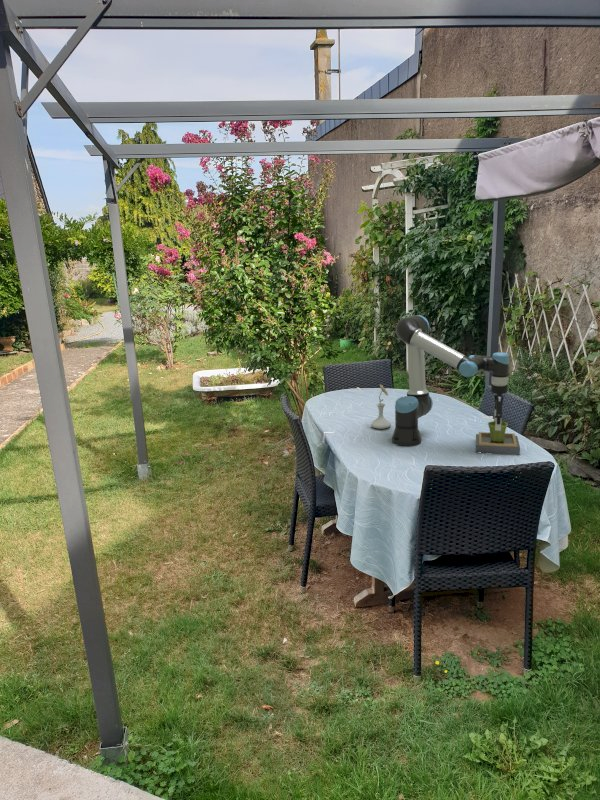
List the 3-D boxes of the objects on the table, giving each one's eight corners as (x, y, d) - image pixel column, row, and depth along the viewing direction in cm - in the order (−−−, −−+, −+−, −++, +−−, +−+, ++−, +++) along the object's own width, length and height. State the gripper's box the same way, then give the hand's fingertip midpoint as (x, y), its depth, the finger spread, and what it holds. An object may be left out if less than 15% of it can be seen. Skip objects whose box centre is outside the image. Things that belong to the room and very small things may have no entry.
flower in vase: (390, 430, 320) (390, 387, 314) (370, 430, 322) (369, 387, 316) (391, 424, 332) (391, 382, 326) (372, 423, 335) (371, 382, 328)
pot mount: (476, 452, 279) (476, 442, 278) (475, 441, 296) (476, 431, 295) (519, 455, 274) (520, 444, 272) (516, 443, 290) (517, 433, 289)
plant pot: (494, 444, 278) (495, 427, 276) (483, 438, 287) (484, 422, 285) (511, 442, 281) (511, 425, 278) (499, 436, 289) (500, 420, 287)
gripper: (509, 390, 264) (506, 434, 269) (506, 379, 287) (504, 419, 293) (492, 390, 266) (490, 433, 272) (490, 378, 289) (488, 418, 295)
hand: (497, 426), depth 282 cm, fingers open, 13 cm apart
